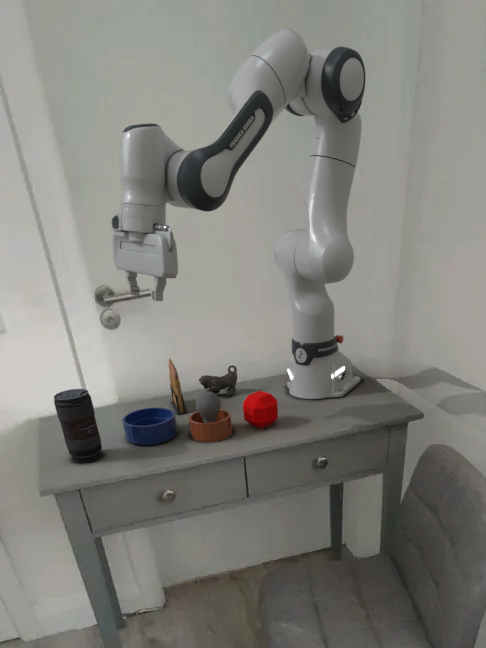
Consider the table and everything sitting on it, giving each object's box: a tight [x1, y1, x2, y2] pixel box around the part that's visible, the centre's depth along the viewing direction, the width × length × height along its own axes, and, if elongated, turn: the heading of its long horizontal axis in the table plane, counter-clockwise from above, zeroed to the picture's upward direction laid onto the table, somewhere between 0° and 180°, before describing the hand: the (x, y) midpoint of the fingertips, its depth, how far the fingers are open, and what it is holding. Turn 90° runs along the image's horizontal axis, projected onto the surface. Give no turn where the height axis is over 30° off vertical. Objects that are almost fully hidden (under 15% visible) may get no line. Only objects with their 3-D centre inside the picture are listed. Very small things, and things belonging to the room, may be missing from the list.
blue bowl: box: [121, 406, 179, 446], centre depth 150 cm, size 13×13×5 cm
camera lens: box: [53, 388, 103, 464], centre depth 139 cm, size 8×8×15 cm
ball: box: [242, 390, 279, 430], centre depth 151 cm, size 8×8×8 cm
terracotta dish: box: [188, 408, 233, 443], centre depth 149 cm, size 10×10×4 cm
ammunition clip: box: [168, 357, 186, 415], centre depth 163 cm, size 11×2×12 cm, turn 16°
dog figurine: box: [198, 365, 238, 397], centre depth 171 cm, size 12×6×7 cm, turn 114°
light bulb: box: [195, 390, 222, 423], centre depth 147 cm, size 6×6×10 cm
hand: (145, 298), depth 131 cm, fingers open, 8 cm apart
